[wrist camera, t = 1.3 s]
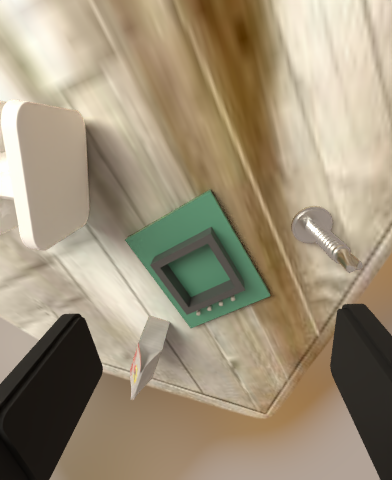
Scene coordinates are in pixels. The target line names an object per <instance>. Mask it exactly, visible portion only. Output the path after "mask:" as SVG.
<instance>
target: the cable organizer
mask: <svg viewBox="0 0 392 480" xmlns="http://www.w3.org/2000/svg"><path fill="white" fill-rule="evenodd" d="M88 216H89V189H88V167H87V146H86V129H85V123H84V120H83V117H82V115H81V114H80V112H78V111H77V110H72V109H66V108H61V107H55V106H50V105H44V104H38V103H33V102H27V101H20V100H9V101H8V102H5V101H0V235H1V234H3V233H5V232H8V231H10V230H12V229H14V228H17V227H19V231H20V236H21V239H22V241H23V243H24V244H25V246H27V247H28V248H31V249H37V250H47V249H49V248H50V247H52V246H53V245H55V244H56V243H58V242H60V241H61V240H63V239H64V238H66V237H67V236H69V235H70V234H72V233H73V232H75V231H76V230H78V229H80V228H81V227H83V226H84V225H85V224H86V222H87V220H88Z"/></svg>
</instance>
